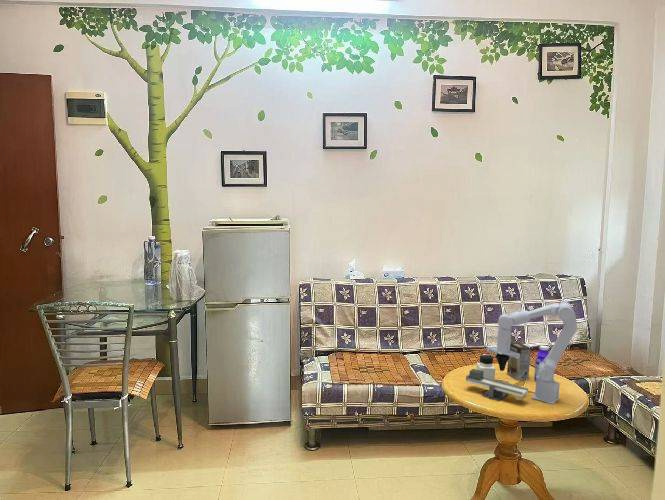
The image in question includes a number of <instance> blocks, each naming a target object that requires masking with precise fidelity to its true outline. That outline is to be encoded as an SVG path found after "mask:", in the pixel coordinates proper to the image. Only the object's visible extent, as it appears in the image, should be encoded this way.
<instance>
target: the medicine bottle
mask: <svg viewBox="0 0 665 500" xmlns="http://www.w3.org/2000/svg"><path fill="white" fill-rule="evenodd" d="M493 363H494V356H492V355H490V354H486V353H484V354H481V355H480V356H479V362H477V363H476V370H481V371H483V377H486V378H490V379H494V380H496V368H495V366H494V365H493Z"/></svg>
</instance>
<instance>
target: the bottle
mask: <svg viewBox="0 0 665 500" xmlns="http://www.w3.org/2000/svg"><path fill="white" fill-rule="evenodd" d="M538 349H539V350H538V352H537V354H536V356H537V357H536V359H535V362H534V375H533V378H534V380H535V381H536V377H537V376H538V365H539V363H541V362H542V361H544V359H545V358H546V357H547V356H548V354H549V352H550V351H549V349H550V348H549V346H547V345H539V348H538Z"/></svg>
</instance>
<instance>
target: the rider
mask: <svg viewBox="0 0 665 500" xmlns="http://www.w3.org/2000/svg"><path fill="white" fill-rule="evenodd" d="M468 374H469V378H471V379H475V380H479V381H482V380H483V371H481V370H477V368H476V369H475V368H472V369H471V370H469V373H468Z"/></svg>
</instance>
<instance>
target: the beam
mask: <svg viewBox="0 0 665 500" xmlns="http://www.w3.org/2000/svg"><path fill="white" fill-rule="evenodd" d="M502 381H503V380H501V381H498V380H497V379H495V380H494V379H490V378H486V377H483V380H482V381H479V380H475V379H471V378H469V373H468V374H466V375H465V382H466V383H469V384H472V385H473V384H474V385H477V386H481V387H485V388H488V389H489V386H493V387H494V389H495V390H499V391H502V392H506V393H509V395H514V396H515V397H516V398H515V399H516V400H518V401H523V400H524V399H526V398H527V394H528V393H529V388H528V387H524V386H520V385H516V384H513V383H509V382H505V381H503V382H502Z"/></svg>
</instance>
